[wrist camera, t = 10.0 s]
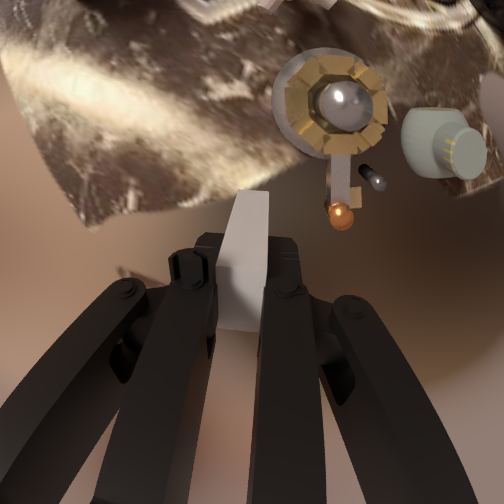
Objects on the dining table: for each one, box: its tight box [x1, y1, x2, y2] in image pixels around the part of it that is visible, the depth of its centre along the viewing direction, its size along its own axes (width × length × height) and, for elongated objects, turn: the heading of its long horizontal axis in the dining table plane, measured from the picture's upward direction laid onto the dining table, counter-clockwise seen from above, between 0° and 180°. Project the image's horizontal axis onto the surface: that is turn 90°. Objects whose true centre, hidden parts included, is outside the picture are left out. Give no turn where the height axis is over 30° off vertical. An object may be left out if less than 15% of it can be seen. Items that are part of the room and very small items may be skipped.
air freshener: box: [401, 107, 487, 181], centre depth 24 cm, size 11×8×10 cm
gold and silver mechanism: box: [271, 48, 388, 209], centre depth 26 cm, size 14×21×8 cm, turn 12°
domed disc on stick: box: [284, 55, 388, 231], centre depth 27 cm, size 20×11×4 cm, turn 6°
